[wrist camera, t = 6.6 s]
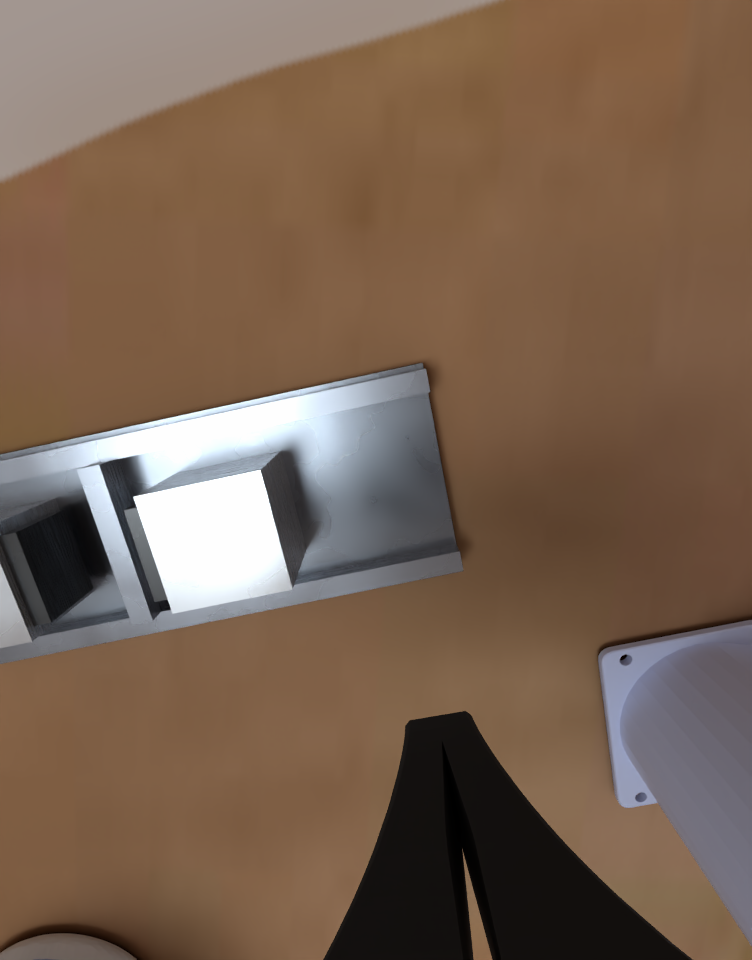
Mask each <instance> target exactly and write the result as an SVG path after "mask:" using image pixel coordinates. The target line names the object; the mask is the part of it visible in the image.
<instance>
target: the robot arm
mask: <svg viewBox="0 0 752 960" xmlns="http://www.w3.org/2000/svg"><path fill="white" fill-rule="evenodd" d="M625 654H627V657H626V658H625V659H624V660H620V658H621V657H622V656H623V655H625ZM598 663H599V671H600V679H601V687H602V695H603V703H604V711H605V719H606V727H607V735H608V743H609V751H610V759H611V767H612V775H613V783H614V791H615V796H616V799H617V800H618V802H619V804H620V805H621V806H623V807H626V808H631V807H637V806H642V805H648V804H653V803H658V804H659V805H660V807H661V808H662V810H663V812H664V813H665V815H666V816H667V818H668V819H669V821H670V822H671V824H672V825H673V827H674V828H675V830H676V831H677V833H678V834H679V836H680V838H681V839H682V841H683V842H684V844H685V845H686V847H687V848H688V850H689V851H690V853H691V854H692V856H693V857H694V859H695V860H696V862H697V863H698V865H699V867H700V868H701V870H702V871H703V873H704V874H705V876H706V877H707V879H708V880H709V882H710V883H711V885H712V886H713V888H714V889H715V891H716V893H717V894H718V896H719V897H720V899H721V900H722V902H723V903H724V905H725V906H726V908H727V909H728V911H729V912H730V914H731V915H732V917H733V918H734V920H735V922H736V923H737V925H738V926H739V928H740V929H741V931H742V932H743V934H744V935H745V937H746V938H747V940H748V941H749V943H750V944H751V946H752V620H747V621H742V622H737V623H731V624H726V625H721V626H716V627H711V628H706V629H700V630H695V631H690V632H685V633H680V634H674V635H669V636H664V637H659V638H654V639H649V640H643V641H638V642H633V643H628V644H623V645H617V646H612V647H608V648H605V649H604V650H602V651H601V652H600V654H599V656H598ZM640 792H641V793H640ZM638 793H640V794H638ZM637 794H638V795H637ZM462 849H463V852H462ZM463 853H464V856H465V860H466V864H467V867H468V871H469V875H470V878H471V882H472V886H473V889H474V893H475V897H476V900H477V904H478V908H479V911H480V915H481V919H482V922H483V926H484V930H485V933H486V937H487V941H488V944H489V948H490V952H491V955H492V959H493V960H692V959H691V958H690V957H689V956H687V955H686V954H685V953H684V952H682V951H681V950H680V949H679V948H677V947H676V946H675V945H674V944H672V943H671V942H670V941H669V940H668V939H667V938H665V937H664V936H663V935H662V934H661V933H660V932H659V931H658V930H656V929H655V928H654V927H653V926H652V925H651V924H650V923H648V922H647V921H646V920H645V919H644V918H643V917H642V916H640V915H639V914H638V913H637V912H636V911H635V910H634V909H632V908H631V907H630V906H629V905H628V904H627V903H626V902H624V901H623V900H622V899H621V898H620V897H619V896H618V895H617V894H616V893H614V892H613V891H612V890H611V889H610V888H609V887H608V886H607V885H606V884H605V883H604V882H603V881H602V880H601V879H600V878H599V877H598V876H597V875H596V874H595V873H594V872H593V871H592V870H591V869H590V868H589V867H588V866H587V865H586V864H585V863H584V862H583V861H582V860H581V859H580V858H579V857H578V856H577V855H576V854H575V853H574V852H573V851H572V850H571V849H570V848H569V847H568V846H567V845H566V844H565V843H564V841H563V840H562V839H561V838H560V837H559V836H558V835H557V834H556V833H555V832H554V830H553V829H552V828H551V827H550V826H549V825H548V824H547V822H546V821H545V820H544V819H543V818H542V817H541V815H540V814H539V813H538V812H537V811H536V809H535V808H534V807H533V806H532V805H531V804H530V802H529V801H528V800H527V799H526V797H525V796H524V795H523V794H522V792H521V791H520V790H519V788H518V787H517V786H516V784H515V783H514V782H513V780H512V779H511V778H510V776H509V775H508V774H507V772H506V771H505V770H504V768H503V767H502V766H501V764H500V763H499V761H498V760H497V759H496V757H495V756H494V754H493V752H492V751H491V749H490V748H489V746H488V745H487V743H486V742H485V740H484V738H483V737H482V735H481V733H480V732H479V730H478V728H477V726H476V724H475V722H474V720H473V718H472V716H471V715H470V714H469V713H468V712H466V711H463V712H457V713H451V714H445V715H439V716H433V717H428V718H422V719H416V720H410V721H409V722H408V723H407V725H406V726H405V738H404V745H403V751H402V756H401V761H400V765H399V770H398V774H397V778H396V782H395V785H394V789H393V792H392V796H391V800H390V803H389V807H388V810H387V813H386V816H385V819H384V822H383V825H382V828H381V831H380V833H379V836H378V839H377V842H376V845H375V848H374V851H373V853H372V856H371V858H370V861H369V863H368V866H367V868H366V871H365V873H364V876H363V878H362V880H361V883H360V885H359V887H358V890H357V892H356V894H355V897H354V899H353V901H352V903H351V905H350V907H349V909H348V911H347V914H346V916H345V918H344V920H343V922H342V924H341V926H340V928H339V930H338V932H337V934H336V936H335V938H334V940H333V942H332V944H331V946H330V948H329V950H328V952H327V954H326V956H325V958H324V959H323V960H473V950H472V940H471V930H470V921H469V911H468V901H467V891H466V881H465V871H464V862H463Z"/></svg>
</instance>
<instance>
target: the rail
mask: <svg viewBox="0 0 752 960" xmlns="http://www.w3.org/2000/svg"><path fill="white" fill-rule="evenodd" d="M428 392H430V388H429V382H428V377H427V372H426V369H424V368H423V363H419V364H414V365H410V366H405V367H401V368H396V369H391V370H387V371H382V372H378V373H373V374H368V375H364V376H359V377H355V378H350V379H345V380H341V381H336V382H331V383H327V384H322V385H318V386H313V387H308V388H304V389H299V390H295V391H290V392H285V393H281V394H276V395H272V396H267V397H262V398H258V399H253V400H249V401H244V402H239V403H235V404H230V405H226V406H221V407H216V408H212V409H207V410H203V411H198V412H193V413H189V414H184V415H180V416H175V417H170V418H166V419H161V420H157V421H152V422H147V423H143V424H138V425H134V426H129V427H124V428H120V429H115V430H111V431H106V432H101V433H97V434H92V435H88V436H83V437H78V438H74V439H69V440H65V441H60V442H55V443H51V444H46V445H41V446H37V447H32V448H28V449H23V450H18V451H14V452H9V453H5V454H0V664H2V663H7V662H12V661H17V660H22V659H27V658H32V657H37V656H42V655H47V654H52V653H57V652H62V651H67V650H72V649H77V648H82V647H87V646H92V645H97V644H102V643H107V642H112V641H117V640H122V639H127V638H132V637H137V636H142V635H147V634H152V633H157V632H162V631H167V630H172V629H177V628H182V627H186V626H191V625H196V624H201V623H206V622H211V621H216V620H221V619H226V618H231V617H236V616H241V615H246V614H251V613H256V612H261V611H266V610H271V609H276V608H281V607H286V606H291V605H296V604H301V603H306V602H311V601H316V600H321V599H326V598H331V597H336V596H341V595H346V594H351V593H356V592H361V591H366V590H371V589H376V588H381V587H386V586H391V585H396V584H401V583H406V582H411V581H416V580H421V579H426V578H431V577H436V576H441V575H446V574H450V573H455V572H460V571H463V566H462V561H461V556H460V551H459V549H458V547H457V545H456V540H455V535H454V530H453V524H452V519H451V513H450V508H449V503H448V497H447V492H446V486H445V481H444V476H443V470H442V465H441V460H440V454H439V449H438V443H437V438H436V433H435V427H434V422H433V417H432V411H431V406H430V400H429V395H428ZM277 451H281V454H282V458H283V461H284V465H285V469H286V473H287V477H288V481H289V485H290V488H291V492H292V496H293V500H294V504H295V508H296V512H297V516H298V519H299V523H300V527H301V531H302V535H303V539H304V543H305V547H306V553H305V556H304V558H303V561H302V564H301V567H300V570H299V573H298V576H297V579H296V581H295V584H294V587H293V590H288V591H283V592H278V593H273V594H268V595H263V596H258V597H254V598H249V599H244V600H239V601H234V602H229V603H224V604H219V605H214V606H209V607H204V608H199V609H194V610H189V611H184V612H179V613H174V614H172V611H171V608H170V605H169V602H168V599H167V600H162V601H157V602H155V601H154V598H153V595H152V592H151V590H150V587H149V584H148V581H147V578H146V575H145V572H144V569H143V566H142V563H141V560H140V557H139V554H138V551H137V548H136V546H135V543H134V540H133V537H132V534H131V531H130V528H129V525H128V522H127V519H126V516H125V513H124V510H125V509H127V508H128V507H130V506H132V505H134V504H135V500H134V496H136V495H138V494H140V493H141V492H143V491H145V490H147V489H149V488H150V487H152V486H154V485H156V484H158V483H159V482H161V481H163V480H165V479H167V478H168V477H170V476H172V475H174V474H175V473H178V472H183V471H187V470H192V469H197V468H201V467H206V466H211V465H216V464H220V463H225V462H230V461H234V460H239V459H244V458H249V457H253V456H258V455H263V454H267V453H272V452H277Z"/></svg>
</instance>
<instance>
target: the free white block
mask: <svg viewBox="0 0 752 960" xmlns="http://www.w3.org/2000/svg"><path fill="white" fill-rule="evenodd" d="M134 500H135V504H134V505H132V506H130V507H128V508H127V509H125V510H124V513H125V516H126V519H127V522H128V525H129V528H130V531H131V534H132V537H133V540H134V543H135V546H136V548H137V551H138V554H139V557H140V560H141V563H142V566H143V569H144V572H145V575H146V578H147V581H148V584H149V587H150V590H151V592H152V595H153V598H154V601H155V602H157V601H162V600H167V599H168V602H169V605H170V608H171V611H172V614H174V613H179V612H184V611H189V610H194V609H199V608H204V607H209V606H214V605H219V604H224V603H229V602H234V601H239V600H244V599H249V598H254V597H258V596H263V595H268V594H273V593H278V592H283V591H288V590H293V587H294V584H295V581H296V579H297V576H298V573H299V570H300V567H301V564H302V561H303V558H304V556H305V553H306V547H305V543H304V539H303V535H302V531H301V527H300V523H299V519H298V516H297V512H296V508H295V504H294V500H293V496H292V492H291V488H290V485H289V481H288V477H287V473H286V469H285V465H284V461H283V458H282V454H281V451H277V452H272V453H267V454H263V455H258V456H253V457H249V458H244V459H239V460H234V461H230V462H225V463H220V464H216V465H211V466H206V467H201V468H197V469H192V470H187V471H183V472H178V473H175V474H174V475H172V476H170V477H168V478H167V479H165V480H163V481H161V482H159V483H158V484H156V485H154V486H152V487H150V488H149V489H147V490H145V491H143V492H141V493H140V494H138V495H136V496H134Z"/></svg>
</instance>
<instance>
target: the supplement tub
mask: <svg viewBox="0 0 752 960" xmlns="http://www.w3.org/2000/svg"><path fill="white" fill-rule="evenodd" d="M0 960H137V959H136V958H134V957H133V956H132V955H131V954H129V953H128V952H126V951H125V950H123V949H121V948H120V947H118V946H116V945H114V944H111V943H109V942H107V941H104V940H101V939H98V938H94V937H91V936H86V935H80V934H72V933H55V934H46V935H40V936H36V937H32V938H29V939H26V940H23V941H20V942H18V943H16V944H14V945H12V946H10V947H9V948H7V949H5V950H4V951H2V952H1V953H0Z"/></svg>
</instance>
